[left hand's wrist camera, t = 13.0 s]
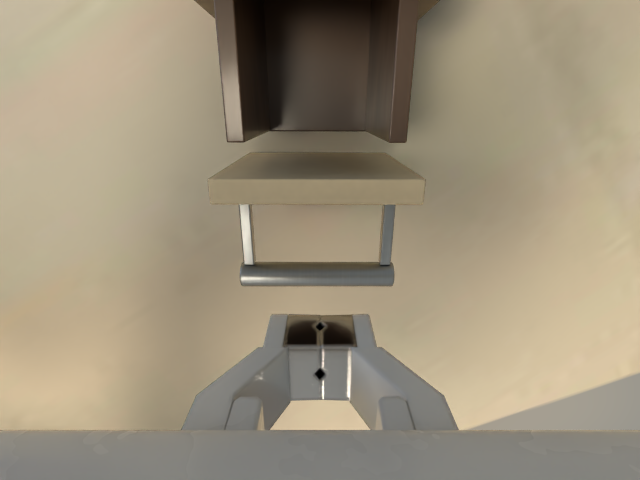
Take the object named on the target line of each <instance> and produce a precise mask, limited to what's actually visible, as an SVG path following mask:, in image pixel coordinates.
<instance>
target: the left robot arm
mask: <svg viewBox="0 0 640 480" xmlns="http://www.w3.org/2000/svg"><path fill="white" fill-rule="evenodd" d="M292 400H348V401H350V403H351V404H352V406H353V407H354V408H355V410H356V411H357V412H358V414H359V415H360V416H361V418H362V419H363V420H364V422H365V423H366V424H367V426H368V427H369V428H370V430H270V429H271V427H272V426H273V425H274V423H275V422H276V421H277V419H278V418H279V417H280V415H281V414H282V413H283V411H284V410H285V409H286V407H287V406H288V405H289V403H290V401H292ZM0 480H640V430H459V429H458V427H457V425H456V422H455V420H454V418H453V416H452V413H451V411H450V409H449V406H448V404H447V402H446V399H445V397H444V395H442V394H441V393H440V392H439V391H437V390H436V389H435V388H433V387H432V386H431V385H430V384H428V383H427V382H426V381H424V380H423V379H422V378H421V377H419V376H418V375H417V374H415V373H414V372H413V371H412V370H410V369H409V368H408V367H406V366H405V365H404V364H403V363H401V362H400V361H399V360H397V359H396V358H395V357H394V356H392V355H391V354H390V353H388V352H387V351H386V350H385V349H383V348H382V347H377V345H376V341H375V337H374V333H373V329H372V325H371V321H370V317H369V315H368V314H355V315H296V314H289V315H287V314H272V315H271V316H270V320H269V324H268V329H267V333H266V337H265V341H264V345H263V347H258V348H257V349H256V350H254V351H253V352H252V353H250V354H249V355H248V356H246V357H245V358H244V359H243V360H241V361H240V362H239V363H237V364H236V365H235V366H234V367H232V368H231V369H230V370H228V371H227V372H226V373H224V374H223V375H222V376H221V377H219V378H218V379H217V380H215V381H214V382H213V383H212V384H210V385H209V386H208V387H206V388H205V389H204V390H203V391H201V392H200V393H199V394H197V395H196V397H195V400H194V402H193V404H192V407H191V409H190V411H189V413H188V416H187V418H186V420H185V422H184V425H183V427H182V429H181V430H0Z"/></svg>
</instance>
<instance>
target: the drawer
mask: <svg viewBox="0 0 640 480" xmlns="http://www.w3.org/2000/svg"><path fill="white" fill-rule="evenodd" d="M214 8H215V19H216V30H217V40H218V51H219V62H220V72H221V83H222V94H223V104H224V115H225V126H226V136H227V142H245V141H248V140H250V139H252V138H255V137H257V136H259V135H261V134H264V133H266V132H268V131H366V132H369V133H371V134H373V135H375V136H377V137H379V138H381V139H383V140H385V141H387V142H390V143H405V142H406V141H407V130H408V119H409V108H410V97H411V86H412V75H413V64H414V53H415V42H416V31H417V20H418V9H419V0H214ZM425 183H426V180H425V179H424V178H423V177H421V176H419V175H418V174H416V173H415V172H413V171H412V170H410V169H409V168H407V167H406V166H404V165H403V164H401V163H400V162H398V161H397V160H395V159H394V158H392V157H391V156H389V155H388V154H386V153H249V154H247V155H245V156H244V157H242V158H241V159H239V160H238V161H236V162H234V163H233V164H231V165H230V166H228V167H226V168H225V169H223V170H222V171H220V172H218V173H217V174H215V175H214V176H212V177H210V178H209V179H208V188H209V197H210V203H211V204H239V213H240V225H241V236H242V247H243V259H244V262H243V263H242V264H241V268H240V282H241V285H242V286H393V283H394V267H393V264H392V263H391V251H392V239H393V227H394V215H395V205H422V204H423V200H424V192H425ZM252 204H319V205H383V206H382V220H381V234H380V248H379V262H255V261H256V257H255V243H254V229H253V216H252Z"/></svg>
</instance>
